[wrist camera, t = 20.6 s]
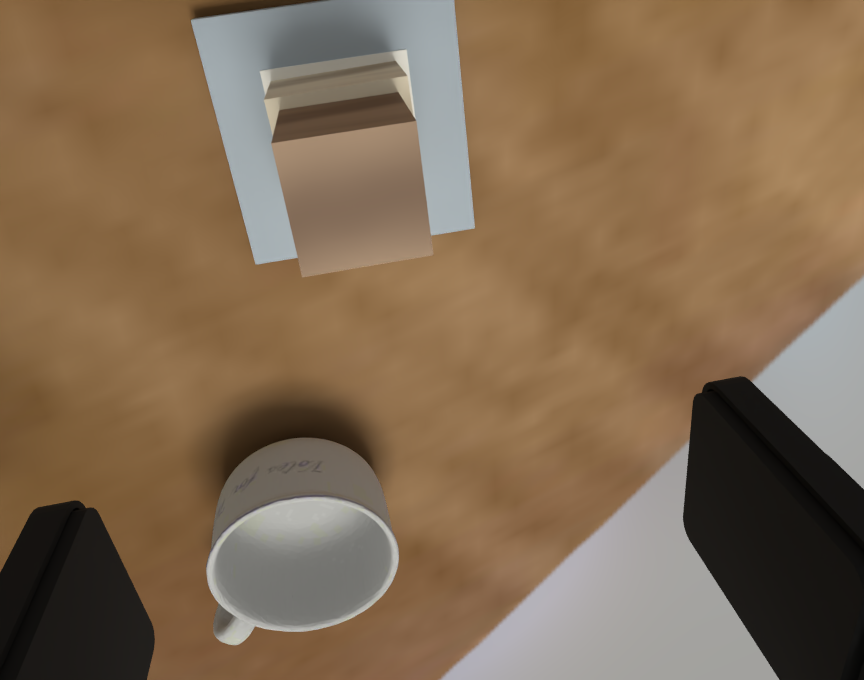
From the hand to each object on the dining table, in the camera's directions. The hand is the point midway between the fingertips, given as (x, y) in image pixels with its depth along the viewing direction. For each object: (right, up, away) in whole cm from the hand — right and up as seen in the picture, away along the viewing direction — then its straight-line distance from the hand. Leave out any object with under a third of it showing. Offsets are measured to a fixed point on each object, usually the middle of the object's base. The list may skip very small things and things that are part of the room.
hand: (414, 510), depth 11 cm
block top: (-3, +10, +19) cm, 22 cm away
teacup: (-9, -8, +36) cm, 38 cm away
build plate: (-4, +13, +25) cm, 28 cm away
